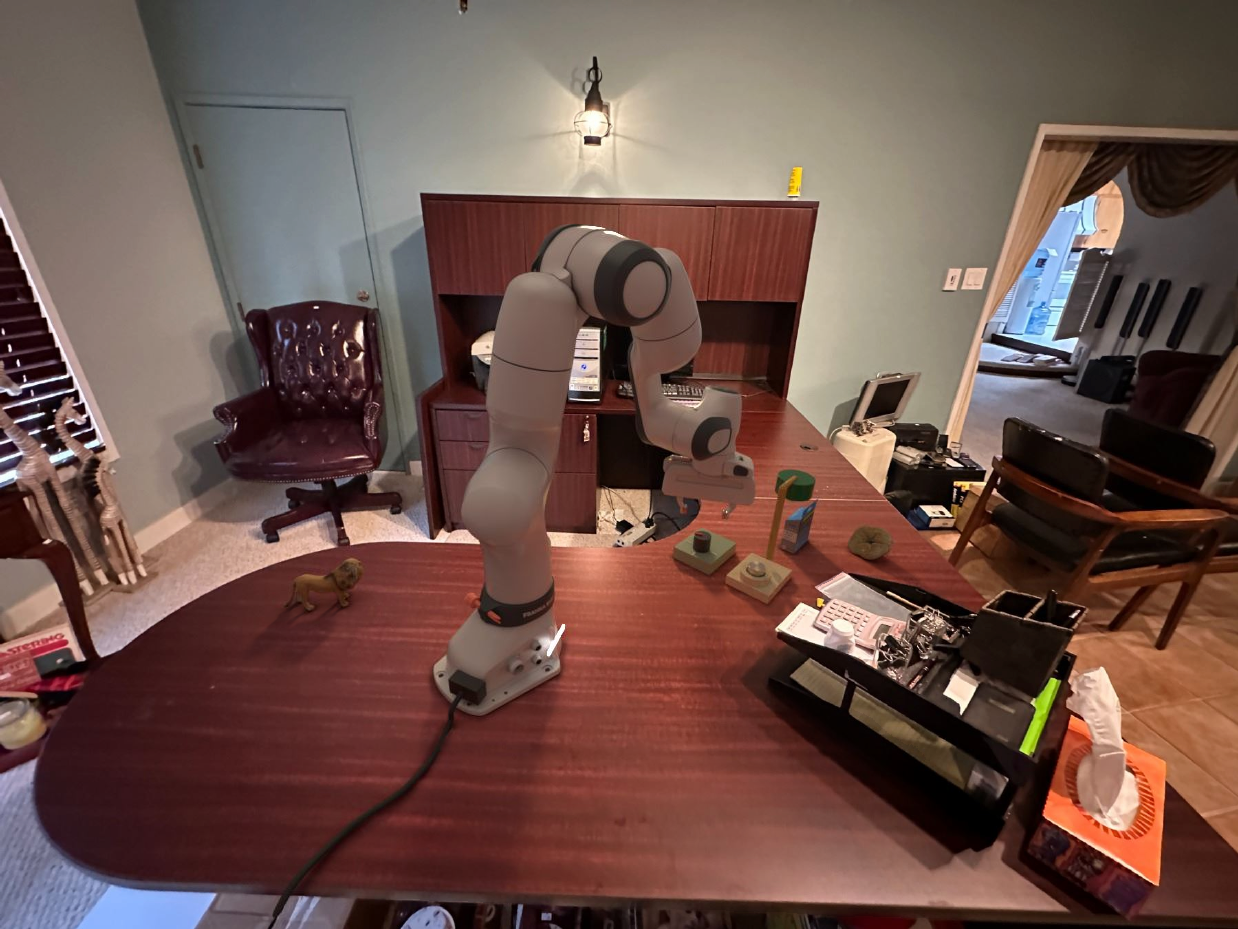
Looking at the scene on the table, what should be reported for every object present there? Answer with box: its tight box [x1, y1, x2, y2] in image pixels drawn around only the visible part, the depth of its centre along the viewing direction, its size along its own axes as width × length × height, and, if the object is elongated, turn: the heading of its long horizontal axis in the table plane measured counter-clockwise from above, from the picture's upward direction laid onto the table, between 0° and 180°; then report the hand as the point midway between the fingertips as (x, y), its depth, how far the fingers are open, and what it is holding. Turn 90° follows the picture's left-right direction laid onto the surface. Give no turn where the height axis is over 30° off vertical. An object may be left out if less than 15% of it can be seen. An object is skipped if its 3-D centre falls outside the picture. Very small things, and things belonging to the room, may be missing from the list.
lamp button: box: [747, 561, 765, 577], centre depth 106 cm, size 4×4×2 cm
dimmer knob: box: [693, 530, 712, 553], centre depth 115 cm, size 4×4×4 cm
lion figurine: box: [283, 557, 365, 612], centre depth 96 cm, size 15×5×9 cm, turn 110°
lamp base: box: [724, 552, 793, 605], centre depth 109 cm, size 12×10×4 cm
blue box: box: [779, 498, 819, 555], centre depth 122 cm, size 9×4×12 cm, turn 139°
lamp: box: [764, 468, 816, 561], centre depth 111 cm, size 12×8×19 cm
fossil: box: [847, 524, 894, 560], centre depth 121 cm, size 9×4×10 cm
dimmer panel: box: [672, 527, 737, 576], centre depth 117 cm, size 12×10×3 cm
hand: (703, 515), depth 112 cm, fingers open, 8 cm apart
